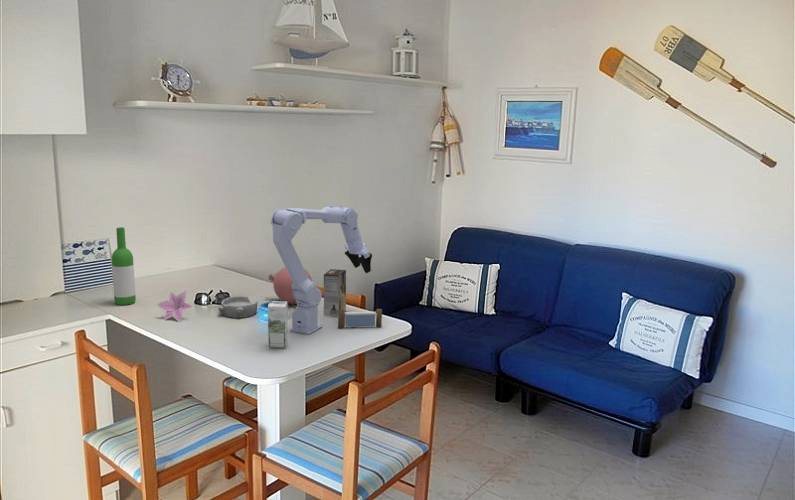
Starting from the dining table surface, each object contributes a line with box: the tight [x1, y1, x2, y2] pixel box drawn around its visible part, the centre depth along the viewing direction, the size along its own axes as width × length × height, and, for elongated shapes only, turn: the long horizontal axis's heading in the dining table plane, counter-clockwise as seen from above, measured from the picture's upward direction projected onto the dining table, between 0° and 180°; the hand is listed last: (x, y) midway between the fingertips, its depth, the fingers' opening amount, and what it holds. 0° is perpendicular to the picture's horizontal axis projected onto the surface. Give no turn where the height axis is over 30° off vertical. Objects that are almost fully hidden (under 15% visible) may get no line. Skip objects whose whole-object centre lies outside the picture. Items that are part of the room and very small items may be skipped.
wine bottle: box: [111, 226, 137, 306], centre depth 249 cm, size 8×8×30 cm
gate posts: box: [337, 308, 383, 330], centre depth 230 cm, size 16×2×6 cm, turn 98°
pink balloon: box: [268, 266, 313, 305], centre depth 257 cm, size 15×20×15 cm
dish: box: [217, 295, 258, 319], centre depth 243 cm, size 14×14×5 cm
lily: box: [156, 289, 193, 323], centre depth 236 cm, size 12×12×10 cm
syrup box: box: [267, 300, 289, 349], centre depth 209 cm, size 6×6×14 cm
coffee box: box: [323, 268, 347, 317], centre depth 245 cm, size 9×6×16 cm
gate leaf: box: [345, 311, 376, 328], centre depth 230 cm, size 11×2×5 cm, turn 98°
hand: (362, 269), depth 241 cm, fingers open, 7 cm apart
